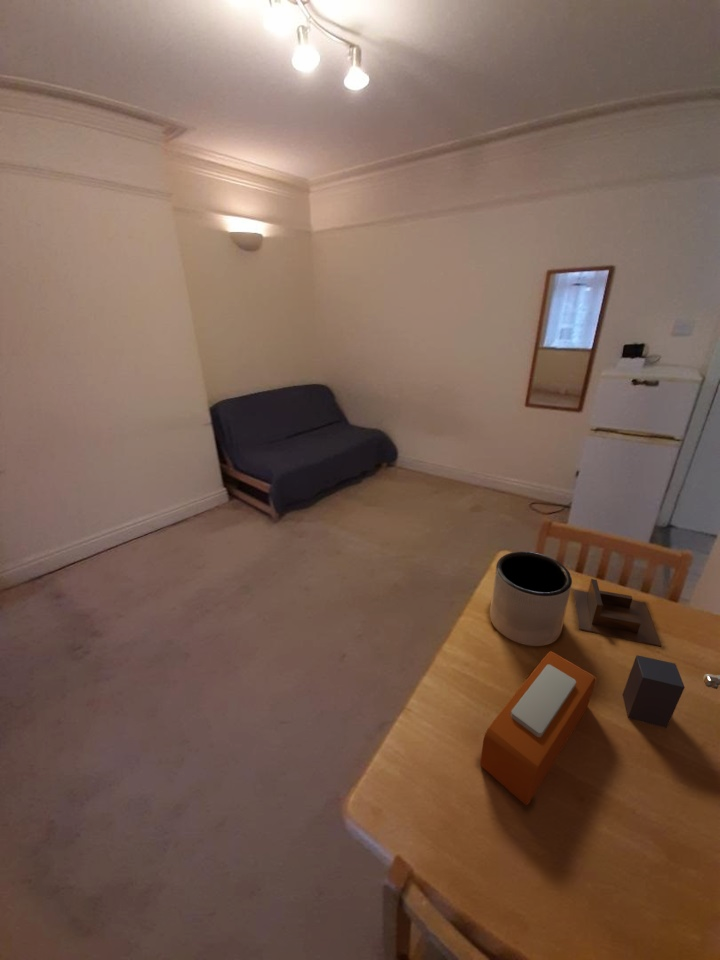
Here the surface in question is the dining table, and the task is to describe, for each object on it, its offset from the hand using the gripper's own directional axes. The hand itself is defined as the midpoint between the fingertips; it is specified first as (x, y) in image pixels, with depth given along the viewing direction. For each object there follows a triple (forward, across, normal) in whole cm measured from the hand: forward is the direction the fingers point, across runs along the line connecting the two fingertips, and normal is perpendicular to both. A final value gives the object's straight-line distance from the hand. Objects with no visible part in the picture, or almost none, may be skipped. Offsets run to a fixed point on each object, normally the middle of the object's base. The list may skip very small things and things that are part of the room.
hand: (715, 702), depth 69 cm
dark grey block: (+9, 0, +7) cm, 12 cm away
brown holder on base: (+10, -24, +7) cm, 28 cm away
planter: (+30, -17, +8) cm, 35 cm away
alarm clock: (+28, +11, +8) cm, 31 cm away
